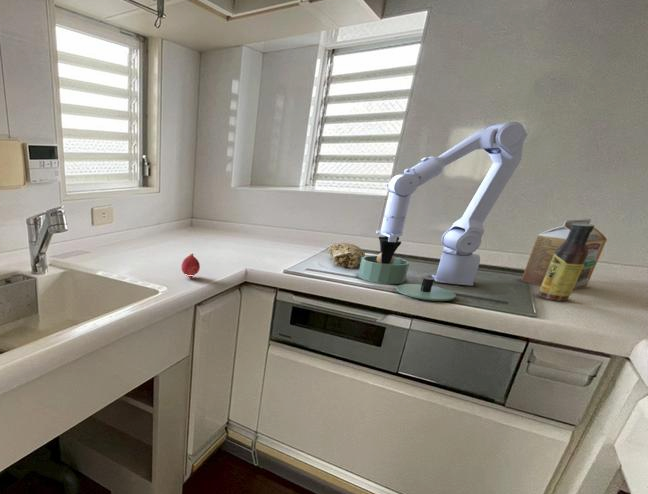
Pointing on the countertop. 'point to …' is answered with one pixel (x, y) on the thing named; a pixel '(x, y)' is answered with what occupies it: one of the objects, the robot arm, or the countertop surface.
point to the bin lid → (426, 291)
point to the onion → (190, 265)
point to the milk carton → (549, 245)
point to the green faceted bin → (383, 270)
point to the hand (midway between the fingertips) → (384, 261)
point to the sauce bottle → (566, 264)
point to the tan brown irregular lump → (346, 254)
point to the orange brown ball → (380, 259)
